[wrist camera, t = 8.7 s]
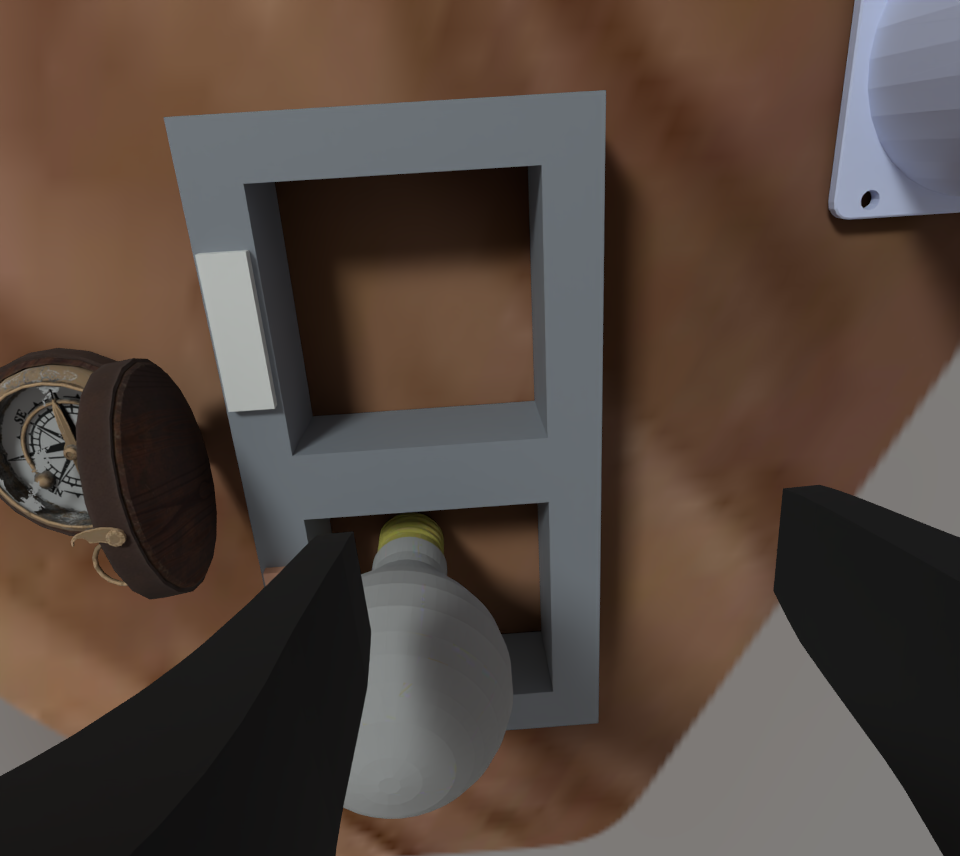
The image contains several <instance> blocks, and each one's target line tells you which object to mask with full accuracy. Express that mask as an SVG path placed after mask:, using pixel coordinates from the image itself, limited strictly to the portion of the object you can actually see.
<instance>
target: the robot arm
mask: <svg viewBox="0 0 960 856" xmlns="http://www.w3.org/2000/svg"><path fill="white" fill-rule="evenodd" d="M867 191H869V192H870V193H871V201H870V203H869V205H867V206H866V207H865V208H863V207H862V206H861V199H862V196H863V195H864V194H865V193H866V192H867ZM828 203H829V210H830V212H831V214H832V215H834V216H835V217H836V218H841V219H848V220H851V219H866V218H882V217H897V216H912V215H928V214H943V213H959V212H960V0H855V3H854V11H853V18H852V26H851V34H850V41H849V49H848V56H847V64H846V72H845V79H844V87H843V94H842V102H841V110H840V117H839V125H838V132H837V140H836V148H835V155H834V163H833V170H832V178H831V185H830V193H829V201H828ZM774 593H775V595H776V597H777V599H778V601H779V603H780V605H781V607H782V609H783V611H784V612H785V615H786V617H787V619H788V621H789V622H790V624H791V626H792V628H793V630H794V631H795V633H796V635H797V637H798V639H799V641H800V642H801V644H802V645H803V646H804V648H805V649H806V651H807V653H808V654H809V655H810V657H811V658H812V659H813V661H814V662H815V664H816V665H817V667H818V668H819V669H820V671H821V672H822V674H823V675H824V677H825V678H826V679H827V681H828V682H829V684H830V685H831V686H832V688H833V689H834V690H835V692H836V693H837V695H838V696H839V697H840V699H841V700H842V701H843V703H844V704H845V706H846V707H847V708H848V710H849V711H850V712H851V714H852V715H853V716H854V718H855V719H856V721H857V722H858V723H859V725H860V726H861V728H862V729H863V730H864V732H865V733H866V734H867V736H868V737H869V739H870V740H871V741H872V743H873V744H874V745H875V747H876V748H877V749H878V751H879V752H880V754H881V755H882V756H883V758H884V759H885V761H886V762H887V764H888V765H889V767H890V768H891V769H892V771H893V773H894V774H895V776H896V777H897V778H898V780H899V782H900V783H901V785H902V786H903V788H904V789H905V791H906V793H907V794H908V796H909V798H910V799H911V801H912V803H913V804H914V806H915V808H916V810H917V811H918V813H919V815H920V816H921V818H922V820H923V822H924V823H925V825H926V827H927V828H928V830H929V832H930V833H931V835H932V837H933V839H934V840H935V842H936V844H937V845H938V847H939V849H940V851H941V852H942V854H943V856H960V537H957V536H954V535H952V534H949V533H946V532H944V531H941V530H939V529H936V528H934V527H931V526H929V525H926V524H923V523H921V522H919V521H916V520H914V519H911V518H909V517H906V516H904V515H901V514H898V513H896V512H893V511H891V510H888V509H886V508H884V507H881V506H878V505H876V504H873V503H871V502H868V501H866V500H863V499H861V498H858V497H855V496H853V495H850V494H847V493H844V492H841V491H838V490H835V489H832V488H829V487H825V486H822V485H814V486H804V487H794V488H784V489H783V495H782V506H781V517H780V527H779V538H778V549H777V559H776V570H775V581H774ZM370 647H371V627H370V621H369V616H368V610H367V605H366V599H365V594H364V588H363V583H362V577H361V572H360V566H359V561H358V555H357V550H356V544H355V539H354V533H353V532H343V533H333V534H323V535H316V536H315V537H314V538H313V539H312V540H311V541H310V542H309V543H308V544H307V545H306V546H305V547H304V548H303V549H302V550H301V551H300V552H299V553H298V554H297V555H296V556H295V557H294V558H293V559H292V560H291V561H290V562H289V563H288V564H287V565H286V566H285V567H284V568H283V569H282V570H281V572H280V573H279V574H278V575H277V576H276V577H275V578H274V579H273V580H271V581H270V582H269V583H268V584H267V585H266V586H265V587H264V588H263V589H262V590H261V591H260V592H259V593H258V594H257V595H256V596H255V597H254V598H253V599H252V600H251V601H250V602H249V603H248V604H247V605H246V606H245V607H244V608H243V609H242V610H240V611H239V612H238V613H237V614H236V615H235V616H234V617H233V618H232V619H230V620H229V621H228V622H227V623H226V624H225V625H224V626H223V627H222V628H220V629H219V630H218V631H217V632H216V633H215V634H214V635H213V636H211V637H210V638H209V639H208V640H207V641H206V642H205V643H203V644H202V645H201V646H200V647H199V648H197V649H196V650H195V651H194V652H193V653H191V654H190V655H189V656H187V657H186V658H185V659H184V660H182V661H181V662H180V663H179V664H177V665H176V666H175V667H173V668H172V669H171V670H169V671H168V672H167V673H165V674H164V675H163V676H161V677H160V678H159V679H157V680H156V681H154V682H153V683H152V684H150V685H149V686H148V687H146V688H145V689H143V690H142V691H141V692H139V693H138V694H136V695H135V696H133V697H132V698H130V699H128V700H127V701H125V702H124V703H122V704H121V705H119V706H118V707H116V708H115V709H113V710H111V711H110V712H108V713H107V714H105V715H104V716H102V717H101V718H99V719H98V720H96V721H94V722H93V723H91V724H90V725H88V726H87V727H85V728H84V729H82V730H81V731H79V732H77V733H76V734H74V735H73V736H71V737H69V738H68V739H66V740H64V741H62V742H61V743H59V744H57V745H56V746H54V747H52V748H50V749H49V750H47V751H45V752H44V753H42V754H40V755H38V756H36V757H35V758H33V759H31V760H29V761H27V762H26V763H24V764H22V765H20V766H19V767H16V768H15V769H13V770H11V771H9V772H7V773H5V774H3V775H2V776H0V856H335V855H336V846H337V840H338V834H339V828H340V822H341V816H342V811H343V806H344V801H345V796H346V791H347V786H348V781H349V777H350V772H351V767H352V762H353V757H354V752H355V747H356V742H357V738H358V733H359V728H360V723H361V718H362V713H363V708H364V703H365V697H366V692H367V687H368V675H369V662H370Z"/></svg>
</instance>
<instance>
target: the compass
mask: <svg viewBox="0 0 960 856" xmlns="http://www.w3.org/2000/svg"><path fill="white" fill-rule="evenodd" d="M0 498H1V499H2V500H3V501H4V502H5V503H6V504H7V505H8V506H10V507H11V508H12V509H13V510H14V511H15V512H17V513H18V514H20V515H22V516H24V517H25V518H27V519H29V520H31V521H32V522H34V523H36V524H38V525H39V526H41V527H44V528H47V529H50V530H53V531H56V532H60V533H63V534H66V535H69V536H74V537H73V538H72V540H71V545H72V547H74V541H75V540H76V539H79V538H82V539H86V540H87V541H88V542H89V543H98V542H99V545H98V546H97V547H96V548H95V550H94V553H93V557H92V559H93V563H94V568H95V569H96V570H97V572H98V573H99V575H100V576H101V577H103V578H104V579H106V580H107V581H108V582H110V583H113V584H116V585H119V586H129V587H130V588H131V589H132V591H134V592H136V593H138V594H140V595H142V596H144V597H146V598H148V599H157V598H165V597H169V596H174V595H178V594H183V593H187V592H191V591H194V590H195V589H196V588H197V587H198V586H199V585H200V584H201V583H202V582H203V580H204V578H205V575H206V573H207V571H208V568H209V566H210V563H211V561H212V558H213V554H214V548H215V542H216V523H217V511H216V501H215V491H214V483H213V478H212V473H211V468H210V463H209V458H208V455H207V452H206V448H205V445H204V441H203V438H202V435H201V432H200V429H199V427H198V424H197V422H196V420H195V417H194V415H193V412H192V410H191V408H190V406H189V404H188V403H187V401H186V399H185V397H184V395H183V394H182V392H181V390H180V389H179V387H178V386H177V385H176V384H175V382H174V381H173V380H172V379H171V378H170V376H169V375H168V374H167V373H165V372H164V371H163V370H162V368H160V367H159V366H157V365H156V364H154V363H153V362H151V361H150V360H148V359H135V358H133V359H128V360H123V361H115V360H112V359H110V358H107V357H104V356H101V355H99V354H96V353H93V352H90V351H83V350H73V349H64V348H56V349H50V350H44V351H38V352H32V353H29V354H26V355H24V356H22V357H20V358H18V359H16V360H14V361H12V362H11V363H9V364H7V365H5V366H3V367H1V368H0ZM101 548H102V549H103V551H104V553H105V554H106V556H107V558H108V560H109V562H110V563H111V565H112V567H113V569H114V571H115V572H116V573H117V574H118V575H119V576H120V577H121V578H122V580H123V581H119V580H116V579H113V578H111V577H110V576H108V575H107V574H106V573H104V571H103V570H102V569H101V567H100V566H99V562H98V554H99V550H100V549H101Z"/></svg>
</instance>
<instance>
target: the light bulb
mask: <svg viewBox="0 0 960 856" xmlns="http://www.w3.org/2000/svg"><path fill="white" fill-rule="evenodd" d="M361 577H362V583H363V588H364V594H365V599H366V605H367V610H368V616H369V621H370V627H371V647H370V662H369V675H368V687H367V692H366V697H365V703H364V708H363V713H362V718H361V723H360V728H359V733H358V738H357V742H356V747H355V752H354V757H353V762H352V767H351V772H350V777H349V781H348V786H347V791H346V796H345V801H344V806H343V807H344V808H346V809H348V810H351V811H353V812H355V813H358V814H362V815H366V816H370V817H377V818H385V819H392V818H407V817H413V816H418V815H421V814H424V813H428V812H431V811H433V810H436V809H438V808H440V807H442V806H444V805H446V804H448V803H450V802H451V801H453V800H454V799H456V798H457V797H459V796H460V795H461V794H462V793H463V792H465V791H466V790H467V789H468V788H469V787H470V786H471V785H473V784H474V783H475V782H476V781H477V780H478V779H479V778H480V777H481V776H482V774H483V773H484V772H485V771H486V769H487V768H488V766H489V764H490V763H491V761H492V759H493V757H494V756H495V754H496V752H497V751H498V749H499V747H500V745H501V743H502V740H503V737H504V734H505V731H506V728H507V724H508V721H509V718H510V714H511V711H512V705H513V686H512V673H511V661H510V656H509V652H508V649H507V646H506V644H505V642H504V639H503V637H502V635H501V633H500V631H499V628H498V626H497V624H496V622H495V620H494V618H493V617H492V615H491V614H490V612H489V611H488V609H487V608H486V607H485V606H484V605H483V604H482V603H481V602H480V601H479V600H478V599H477V598H476V597H475V596H474V595H473V594H472V593H470V592H469V591H468V590H467V589H466V588H464V587H463V586H462V585H461V584H459V583H458V582H456V581H455V580H453V579H451V578H449V577H448V576H447V563H446V559H445V557H444V538H443V533H442V530H441V529H440V527H439V526H438V524H437V523H436V522H435V521H433V520H432V519H431V518H430V517H428V516H426V515H423V514H420V513H414V512H409V513H402V514H399V515H397V516H394V517H393V518H391V519H390V520H388V521H387V522H386V523H385V524H384V526H383V527H382V529H381V532H380V535H379V547H378V552H377V554H376V556H375V558H374V561H373V566H372V571H369V572H367V573H364V574H361Z"/></svg>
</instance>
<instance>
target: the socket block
mask: <svg viewBox="0 0 960 856" xmlns="http://www.w3.org/2000/svg"><path fill="white" fill-rule="evenodd" d="M164 121H165V126H166V131H167V135H168V140H169V145H170V149H171V154H172V158H173V163H174V168H175V172H176V177H177V182H178V186H179V191H180V196H181V200H182V205H183V210H184V214H185V219H186V224H187V228H188V233H189V238H190V242H191V247H192V252H193V256H194V261H195V266H196V270H197V275H198V280H199V284H200V289H201V294H202V298H203V303H204V308H205V312H206V317H207V322H208V326H209V331H210V336H211V340H212V345H213V349H214V354H215V359H216V363H217V368H218V373H219V377H220V382H221V387H222V391H223V396H224V401H225V405H226V410H227V415H228V419H229V424H230V429H231V433H232V438H233V443H234V447H235V452H236V457H237V461H238V466H239V471H240V475H241V480H242V485H243V489H244V494H245V499H246V503H247V508H248V513H249V517H250V522H251V527H252V531H253V536H254V540H255V545H256V550H257V554H258V559H259V564H260V568H261V573H262V578H263V582H264V587H265V586H266V585H267V584H268V583H269V582H270V581H271V580H273V579H274V578H275V577H276V576H277V575H278V574H279V573H280V572H281V570H282V569H283V568H284V567H285V566H286V565H287V564H288V563H289V562H290V561H291V560H292V559H293V558H294V557H295V556H296V555H297V554H298V553H299V552H300V551H301V550H302V549H303V548H304V547H305V546H306V545H307V544H308V543H309V542H310V541H311V540H312V539H313V538H314V537H315V536H316V535H323V534H332V531H331V524H330V518H336V517H350V516H363V515H377V514H391V513H405V512H419V511H433V510H447V509H461V508H474V507H488V506H502V505H516V504H530V503H538V535H539V570H540V605H541V631H538V632H525V633H512V634H501V635H502V637H503V639H504V642H505V644H506V646H507V649H508V652H509V656H510V661H511V673H512V686H513V705H512V711H511V714H510V718H509V721H508V724H507V728H506V730H516V729H529V728H542V727H555V726H567V725H580V724H593V723H598V715H599V630H600V545H601V460H602V375H603V291H604V206H605V121H606V90H602V91H585V92H569V93H552V94H536V95H520V96H503V97H487V98H471V99H454V100H438V101H421V102H405V103H389V104H372V105H356V106H339V107H323V108H307V109H290V110H274V111H257V112H241V113H225V114H208V115H192V116H176V117H164ZM519 166H528V187H529V222H530V257H531V292H532V326H533V361H534V396H535V401H527V402H512V403H498V404H483V405H469V406H455V407H440V408H426V409H411V410H397V411H382V412H368V413H354V414H339V415H325V416H313V414H312V408H311V402H310V396H309V390H308V383H307V377H306V371H305V365H304V359H303V353H302V347H301V341H300V334H299V328H298V322H297V316H296V310H295V304H294V298H293V292H292V285H291V279H290V273H289V267H288V261H287V255H286V249H285V243H284V236H283V230H282V224H281V218H280V212H279V206H278V200H277V194H276V187H275V182H280V181H296V180H312V179H328V178H344V177H360V176H376V175H392V174H407V173H423V172H439V171H455V170H471V169H487V168H503V167H519Z"/></svg>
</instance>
